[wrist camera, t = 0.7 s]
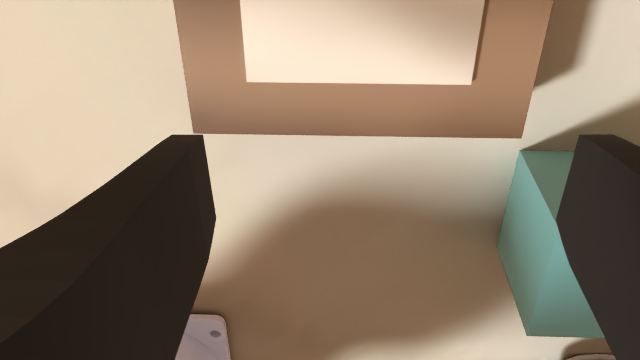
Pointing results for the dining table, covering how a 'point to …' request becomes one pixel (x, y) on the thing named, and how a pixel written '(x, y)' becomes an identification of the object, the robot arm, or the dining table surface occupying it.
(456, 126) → the walnut base
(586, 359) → the ceramic mug
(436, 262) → the dining table surface
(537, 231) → the teal cube
